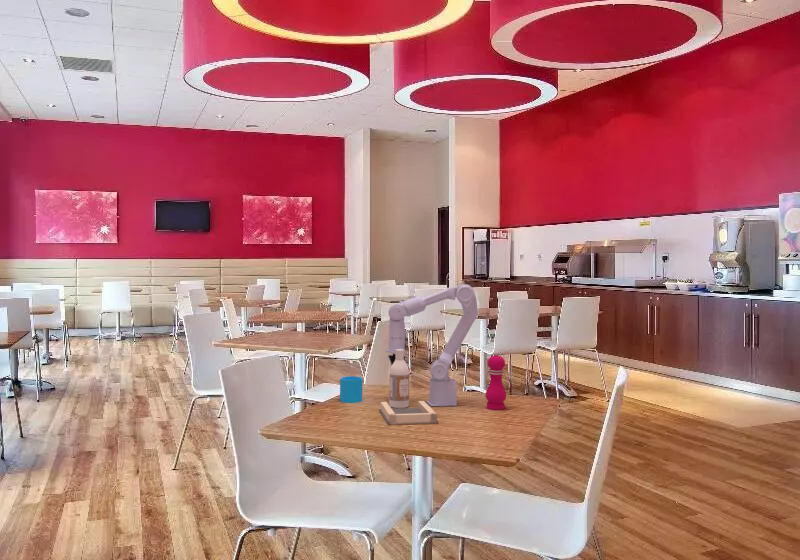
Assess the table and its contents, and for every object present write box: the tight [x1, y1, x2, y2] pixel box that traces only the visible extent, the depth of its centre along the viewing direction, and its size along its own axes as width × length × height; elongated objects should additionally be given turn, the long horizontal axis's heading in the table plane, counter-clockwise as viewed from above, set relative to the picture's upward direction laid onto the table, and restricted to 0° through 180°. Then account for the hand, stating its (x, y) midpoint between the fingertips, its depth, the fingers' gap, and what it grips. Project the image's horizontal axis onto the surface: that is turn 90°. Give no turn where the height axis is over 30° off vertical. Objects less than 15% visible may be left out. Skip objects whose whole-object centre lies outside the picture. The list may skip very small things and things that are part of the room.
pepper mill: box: [484, 350, 507, 411], centre depth 238 cm, size 7×7×20 cm
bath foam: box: [388, 349, 410, 409], centre depth 239 cm, size 7×7×20 cm
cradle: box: [378, 400, 439, 426], centre depth 224 cm, size 16×20×3 cm
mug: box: [339, 375, 363, 404], centre depth 250 cm, size 12×8×8 cm
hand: (396, 375), depth 245 cm, fingers closed
